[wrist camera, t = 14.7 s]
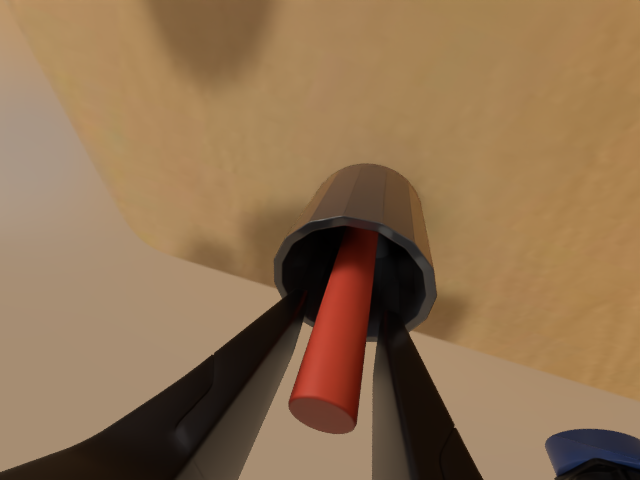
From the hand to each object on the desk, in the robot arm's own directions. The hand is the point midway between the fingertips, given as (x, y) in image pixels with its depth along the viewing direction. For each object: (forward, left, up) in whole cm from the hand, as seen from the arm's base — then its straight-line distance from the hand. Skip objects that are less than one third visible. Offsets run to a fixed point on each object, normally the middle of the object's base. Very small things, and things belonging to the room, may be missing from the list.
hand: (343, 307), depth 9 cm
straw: (0, 0, -6) cm, 6 cm away
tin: (0, 0, -7) cm, 7 cm away
